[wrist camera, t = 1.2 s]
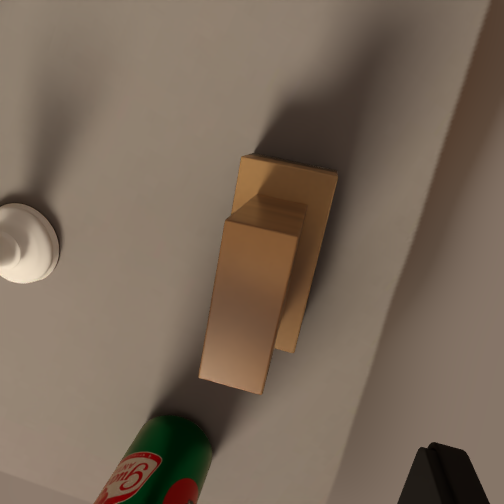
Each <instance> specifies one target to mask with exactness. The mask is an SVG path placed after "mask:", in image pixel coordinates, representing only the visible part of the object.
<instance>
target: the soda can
mask: <svg viewBox="0 0 504 504" xmlns="http://www.w3.org/2000/svg"><path fill="white" fill-rule="evenodd" d="M211 462H212V448H211V444H210V442H209V440H208V438H207V436H206V435H205V433H204V432H203V431H202V430H201V428H200V427H199V426H197V425H196V424H195V423H194V422H192V421H191V420H189V419H187V418H184V417H181V416H176V415H164V416H158V417H155V418H153V419H151V420H149V421H148V422H147V423H146V424H144V426H143V427H142V428H141V430H140V432H139V433H138V435H137V436H136V438H135V439H134V441H133V442H132V444H131V446H130V447H129V449H128V450H127V452H126V453H125V455H124V457H123V458H122V460H121V461H120V463H119V464H118V466H117V468H116V469H115V471H114V472H113V474H112V475H111V477H110V479H109V480H108V482H107V483H106V485H105V486H104V488H103V490H102V491H101V493H100V494H99V496H98V497H97V499H96V501H95V502H94V504H197V501H198V498H199V496H200V493H201V490H202V487H203V484H204V482H205V479H206V476H207V473H208V470H209V468H210V465H211Z"/></svg>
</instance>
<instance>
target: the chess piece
mask: <svg viewBox="0 0 504 504" xmlns="http://www.w3.org/2000/svg"><path fill="white" fill-rule="evenodd" d="M58 257H59V244H58V239H57V236H56V233H55V231H54V229H53V227H52V226H51V224H50V223H49V221H48V220H47V219H46V218H45V217H44V216H43V215H42V214H41V213H40V212H38V211H37V210H35V209H34V208H32V207H30V206H27V205H24V204H19V203H11V204H6V205H3V206H1V207H0V276H2V277H3V278H5V279H7V280H9V281H12V282H15V283H31V282H34V281H38V280H41V279H44V278H45V277H47V276H48V275H49V274H50V273H51V272H52V271H53V270H54V268H55V266H56V264H57V261H58Z"/></svg>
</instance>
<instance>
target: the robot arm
mask: <svg viewBox="0 0 504 504" xmlns="http://www.w3.org/2000/svg"><path fill="white" fill-rule="evenodd" d="M397 504H490V503H489V501H488V499H487V497H486V494H485V492H484V490H483V487H482V485H481V483H480V481H479V479H478V477H477V474H476V472H475V470H474V468H473V465H472V463H471V461H470V459H469V456H468V455H467V453H466V452H465V451H464V450H461V449H458V448H453V447H450V446H446V445H443V444H439V443H436V442H433V443H431V444H430V445H429V446H428V448H424V447H420V448H419V449H418V452H417V454H416V456H415V459H414V461H413V464H412V467H411V469H410V472H409V475H408V477H407V480H406V483H405V485H404V488H403V490H402V493H401V496H400V498H399V501H398V503H397Z"/></svg>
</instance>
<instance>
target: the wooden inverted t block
mask: <svg viewBox="0 0 504 504" xmlns="http://www.w3.org/2000/svg"><path fill="white" fill-rule="evenodd" d="M337 180H338V174H337V171H336V170H333V169H328V168H323V167H318V166H313V165H309V164H304V163H299V162H294V161H289V160H284V159H280V158H275V157H270V156H265V155H260V154H256V153H252V154H249V155H245V156H242V157H241V161H240V167H239V173H238V178H237V184H236V190H235V195H234V201H233V207H232V213H231V216H230V217H228V218H227V219H226V220H225V224H224V230H223V236H222V241H221V247H220V253H219V259H218V265H217V270H216V276H215V282H214V288H213V294H212V300H211V305H210V311H209V317H208V323H207V329H206V334H205V340H204V346H203V352H202V358H201V364H200V369H199V375H198V376H199V378H201V379H205V380H208V381H212V382H216V383H219V384H223V385H226V386H230V387H234V388H237V389H241V390H244V391H248V392H252V393H255V394H259V395H262V393H263V390H264V386H265V382H266V378H267V374H268V370H269V366H270V363H271V359H272V355H273V351H274V348H275V349H279V350H283V351H287V352H291V353H294V352H295V348H296V344H297V340H298V336H299V332H300V328H301V324H302V320H303V316H304V312H305V308H306V304H307V300H308V296H309V292H310V288H311V284H312V280H313V276H314V272H315V268H316V264H317V260H318V256H319V252H320V248H321V244H322V240H323V236H324V232H325V228H326V224H327V220H328V216H329V212H330V208H331V204H332V200H333V196H334V192H335V188H336V184H337Z"/></svg>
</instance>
